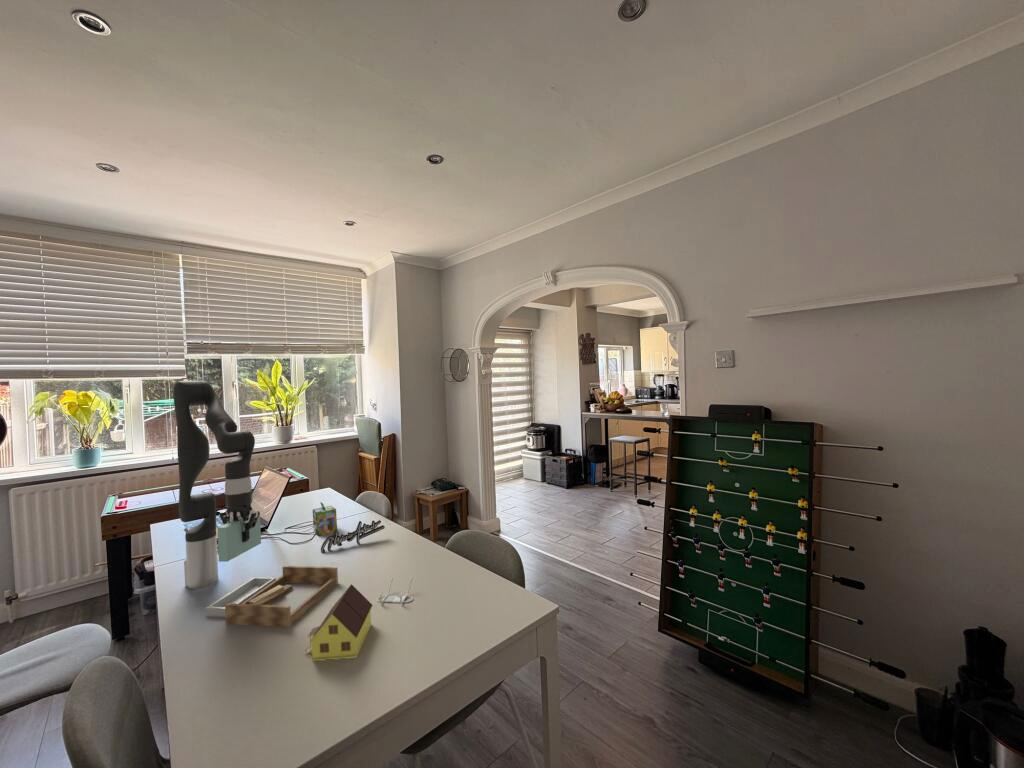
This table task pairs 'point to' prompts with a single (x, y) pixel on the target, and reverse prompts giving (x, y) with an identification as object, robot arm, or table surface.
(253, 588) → the tray
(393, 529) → the table surface
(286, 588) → the offcut long
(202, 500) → the robot arm
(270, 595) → the offcut short
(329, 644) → the house model
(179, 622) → the table surface
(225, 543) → the mint green rectangular block
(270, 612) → the brown wooden open box
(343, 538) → the nameplate
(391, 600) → the wall mount rack
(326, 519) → the juice box
